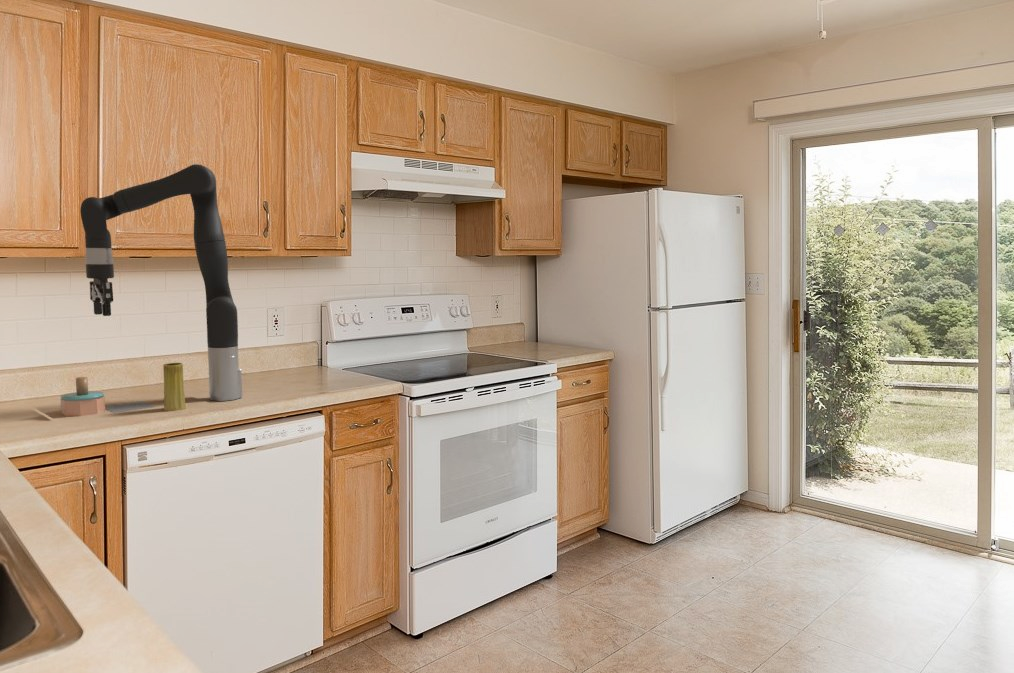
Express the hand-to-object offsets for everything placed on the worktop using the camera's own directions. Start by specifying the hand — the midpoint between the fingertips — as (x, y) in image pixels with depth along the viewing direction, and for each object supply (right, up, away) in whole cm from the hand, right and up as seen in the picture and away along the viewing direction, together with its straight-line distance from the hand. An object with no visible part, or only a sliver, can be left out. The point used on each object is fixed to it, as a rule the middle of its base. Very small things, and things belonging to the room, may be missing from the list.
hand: (102, 315), depth 228 cm
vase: (+26, -29, -8) cm, 40 cm away
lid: (+1, -25, -13) cm, 28 cm away
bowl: (+1, -30, -13) cm, 32 cm away
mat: (+11, -29, -5) cm, 31 cm away
